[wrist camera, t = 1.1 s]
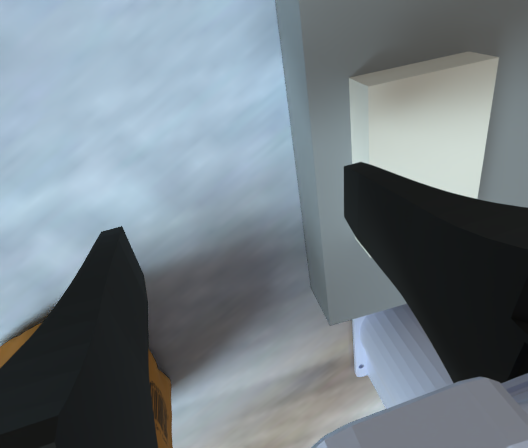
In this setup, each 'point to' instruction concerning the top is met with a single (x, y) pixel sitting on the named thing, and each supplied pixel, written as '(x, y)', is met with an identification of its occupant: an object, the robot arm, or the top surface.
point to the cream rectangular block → (426, 120)
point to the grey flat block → (339, 124)
